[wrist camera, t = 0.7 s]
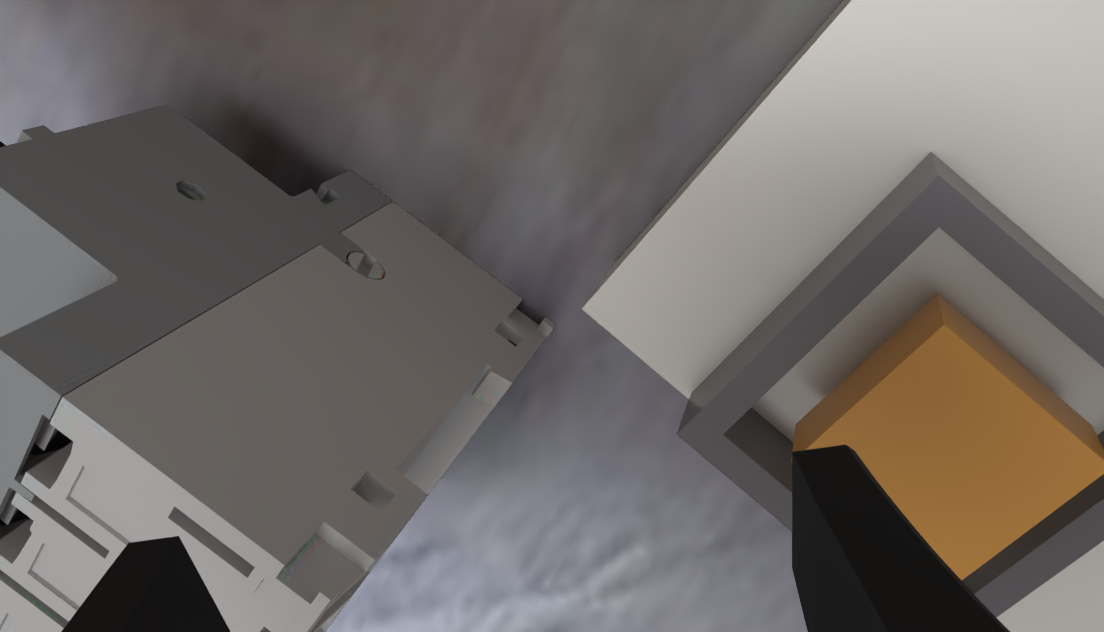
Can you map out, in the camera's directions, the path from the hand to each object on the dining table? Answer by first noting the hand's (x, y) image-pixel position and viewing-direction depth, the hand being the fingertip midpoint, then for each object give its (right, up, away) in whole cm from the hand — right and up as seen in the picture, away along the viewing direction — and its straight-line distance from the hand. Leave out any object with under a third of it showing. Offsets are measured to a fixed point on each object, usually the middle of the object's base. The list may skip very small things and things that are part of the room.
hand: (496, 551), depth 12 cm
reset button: (+10, 0, +12) cm, 15 cm away
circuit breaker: (-7, +4, +22) cm, 24 cm away
